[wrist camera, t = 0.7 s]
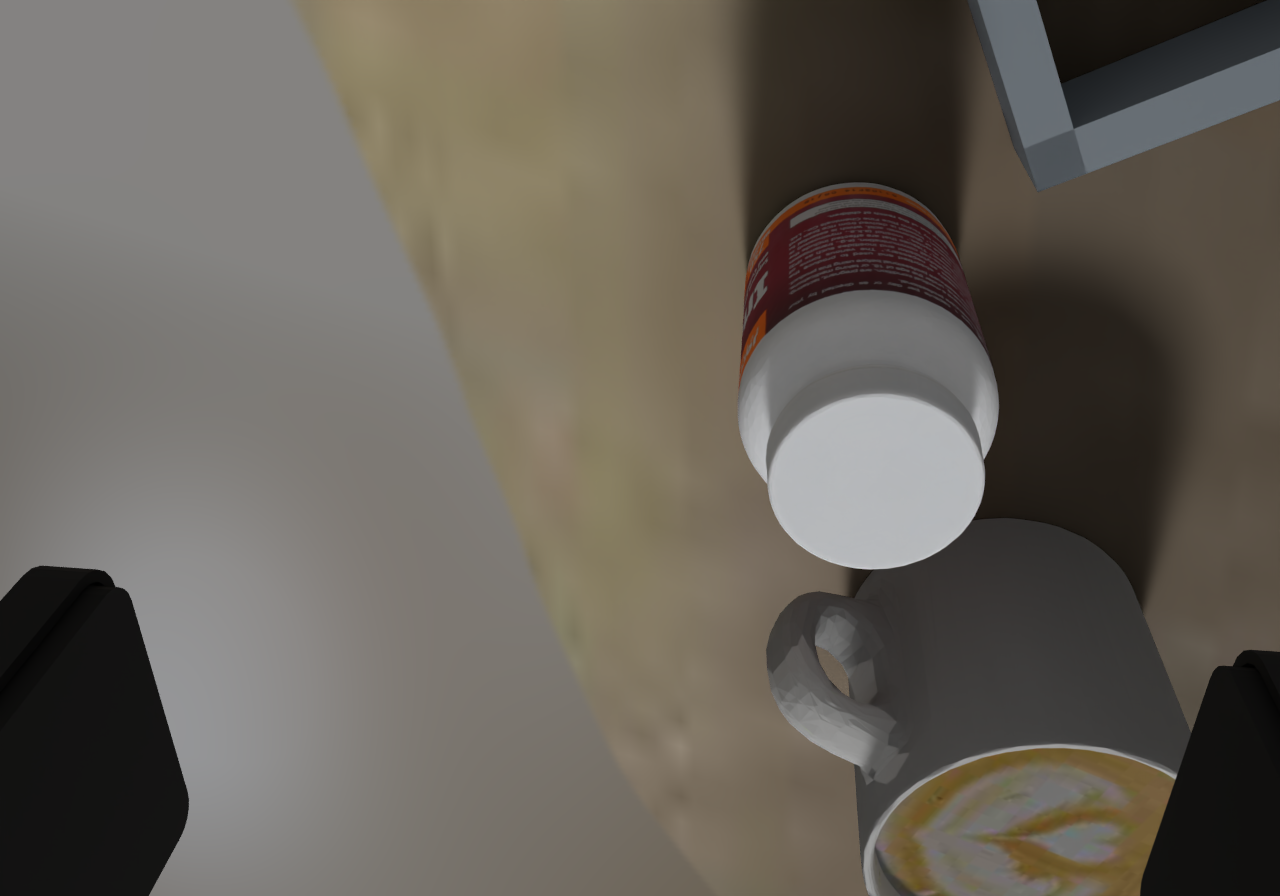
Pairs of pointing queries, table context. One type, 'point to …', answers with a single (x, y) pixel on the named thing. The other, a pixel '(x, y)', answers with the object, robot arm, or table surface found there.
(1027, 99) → the compartment rack
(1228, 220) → the table surface
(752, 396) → the pill bottle
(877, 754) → the coffee mug
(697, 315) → the table surface
